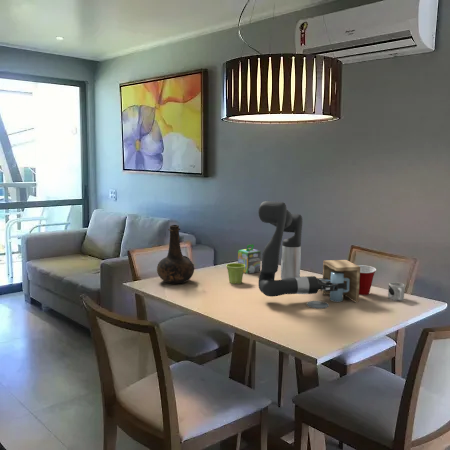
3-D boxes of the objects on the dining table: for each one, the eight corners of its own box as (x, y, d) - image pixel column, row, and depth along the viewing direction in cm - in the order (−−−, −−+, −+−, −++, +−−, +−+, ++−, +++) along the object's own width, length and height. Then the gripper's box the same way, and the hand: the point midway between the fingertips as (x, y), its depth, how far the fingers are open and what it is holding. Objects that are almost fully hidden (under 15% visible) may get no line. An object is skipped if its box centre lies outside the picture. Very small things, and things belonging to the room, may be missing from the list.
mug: (385, 296, 222) (386, 282, 221) (400, 296, 222) (401, 282, 221) (393, 303, 212) (394, 288, 211) (408, 303, 212) (409, 288, 211)
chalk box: (250, 268, 273) (250, 242, 271) (261, 271, 266) (261, 244, 264) (236, 270, 268) (237, 243, 266) (247, 274, 260) (248, 246, 258)
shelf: (334, 303, 211) (336, 267, 209) (322, 293, 225) (323, 260, 223) (358, 302, 213) (360, 266, 211) (344, 292, 227) (345, 259, 225)
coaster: (308, 308, 203) (308, 307, 203) (305, 302, 212) (305, 300, 212) (330, 308, 203) (330, 307, 203) (326, 302, 212) (326, 300, 212)
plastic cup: (347, 294, 224) (348, 268, 222) (353, 289, 233) (354, 264, 232) (372, 298, 219) (373, 271, 217) (377, 292, 228) (378, 266, 227)
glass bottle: (201, 282, 242) (201, 225, 238) (171, 288, 230) (171, 229, 226) (179, 275, 255) (179, 221, 251) (149, 281, 243) (149, 224, 239)
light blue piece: (332, 301, 212) (333, 274, 211) (327, 298, 218) (328, 271, 216) (350, 301, 214) (352, 274, 212) (345, 297, 219) (346, 271, 218)
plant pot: (238, 286, 236) (239, 268, 235) (222, 283, 241) (222, 265, 240) (248, 281, 244) (248, 264, 243) (232, 279, 249) (232, 262, 248)
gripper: (311, 280, 204) (350, 279, 208) (300, 272, 218) (336, 271, 222) (311, 298, 205) (349, 296, 209) (299, 289, 219) (335, 287, 223)
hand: (342, 283), depth 215 cm, fingers closed on light blue piece, 5 cm apart
